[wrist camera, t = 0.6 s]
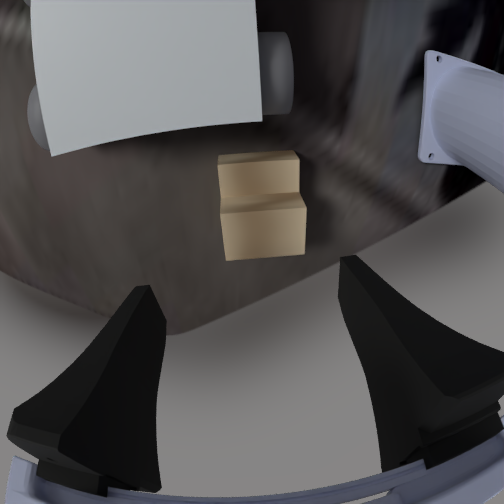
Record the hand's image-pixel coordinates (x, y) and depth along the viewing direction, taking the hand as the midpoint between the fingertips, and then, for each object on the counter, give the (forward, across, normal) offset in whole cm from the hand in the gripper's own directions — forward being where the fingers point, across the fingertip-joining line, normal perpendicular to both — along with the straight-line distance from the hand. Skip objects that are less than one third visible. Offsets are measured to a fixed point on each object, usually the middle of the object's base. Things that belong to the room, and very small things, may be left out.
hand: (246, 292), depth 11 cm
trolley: (+9, +3, -12) cm, 16 cm away
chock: (+10, -1, 0) cm, 10 cm away
